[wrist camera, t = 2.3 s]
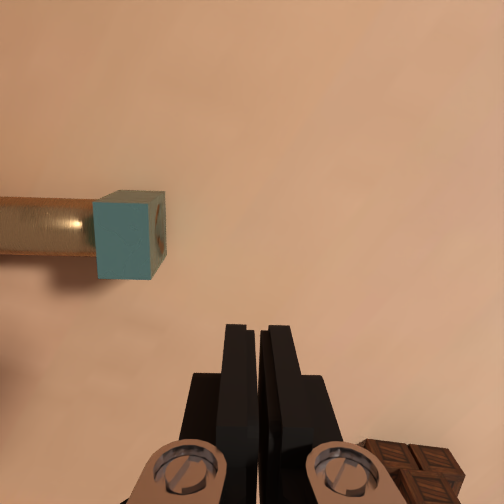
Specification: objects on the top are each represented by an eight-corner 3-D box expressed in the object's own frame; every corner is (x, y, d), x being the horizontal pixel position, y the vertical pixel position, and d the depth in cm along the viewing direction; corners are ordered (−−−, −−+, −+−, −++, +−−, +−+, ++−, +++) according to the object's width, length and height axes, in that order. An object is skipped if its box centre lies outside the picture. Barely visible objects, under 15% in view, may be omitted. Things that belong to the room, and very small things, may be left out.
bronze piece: (-122, 182, 26) (-204, 193, 22) (165, 191, 27) (148, 203, 22) (-108, 248, 28) (-182, 271, 23) (166, 255, 28) (150, 279, 23)
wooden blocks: (297, 524, 37) (309, 607, 31) (333, 383, 33) (355, 444, 27) (454, 541, 38) (497, 626, 32) (507, 406, 34) (570, 471, 28)
